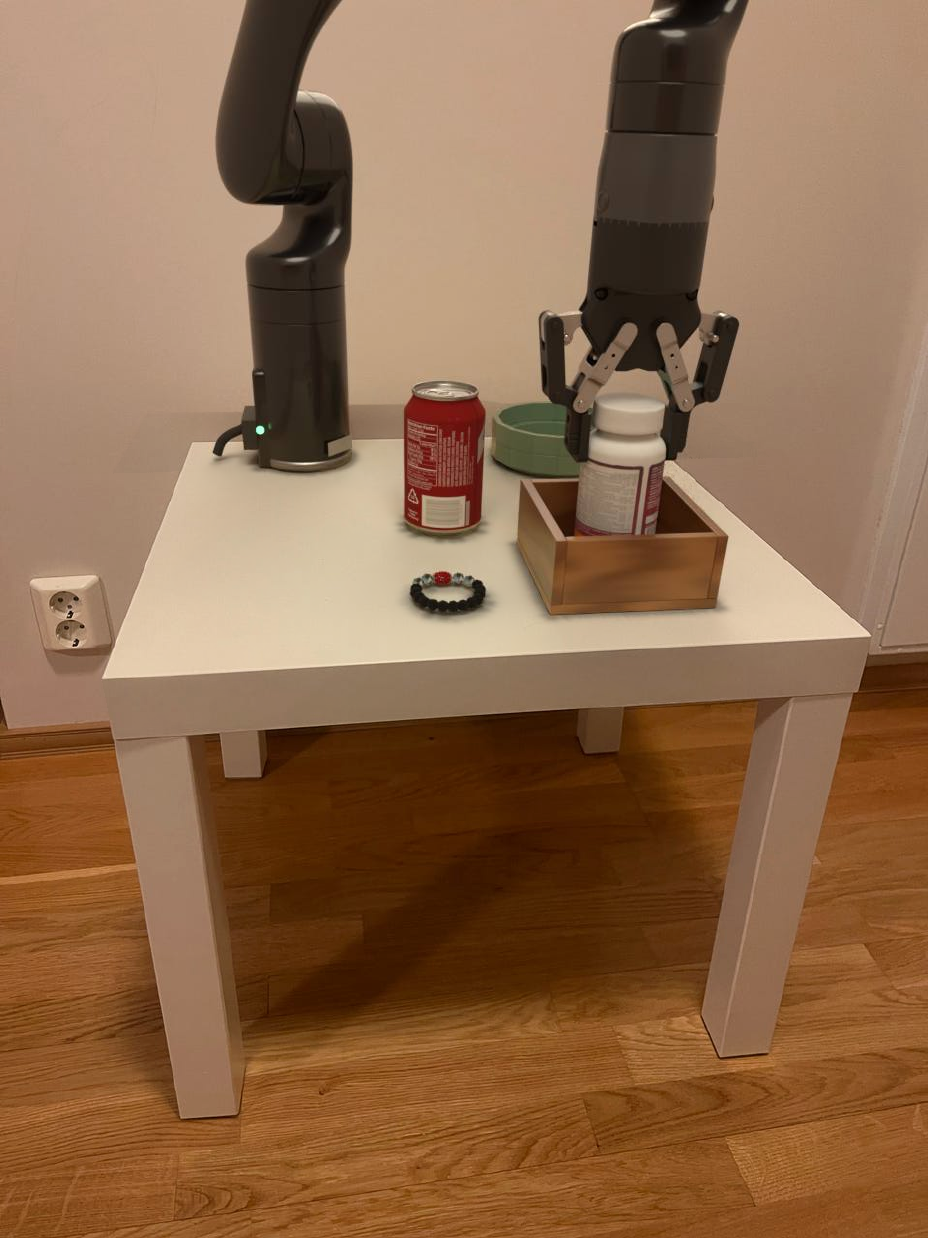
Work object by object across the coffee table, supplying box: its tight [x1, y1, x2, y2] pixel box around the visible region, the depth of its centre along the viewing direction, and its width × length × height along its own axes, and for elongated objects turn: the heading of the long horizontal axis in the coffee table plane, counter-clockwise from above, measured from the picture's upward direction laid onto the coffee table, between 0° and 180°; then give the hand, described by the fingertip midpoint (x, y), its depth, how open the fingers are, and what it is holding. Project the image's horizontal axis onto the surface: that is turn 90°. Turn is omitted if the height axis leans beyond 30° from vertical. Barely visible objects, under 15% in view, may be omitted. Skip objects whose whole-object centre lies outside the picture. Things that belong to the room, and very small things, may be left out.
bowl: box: [490, 400, 596, 479], centre depth 95 cm, size 13×13×4 cm
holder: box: [516, 475, 729, 616], centre depth 70 cm, size 13×13×6 cm
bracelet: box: [409, 570, 487, 613], centre depth 67 cm, size 6×6×1 cm
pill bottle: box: [574, 391, 666, 537], centre depth 68 cm, size 6×6×11 cm
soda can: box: [403, 379, 487, 537], centre depth 77 cm, size 7×7×12 cm
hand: (622, 457), depth 67 cm, fingers closed on pill bottle, 6 cm apart
